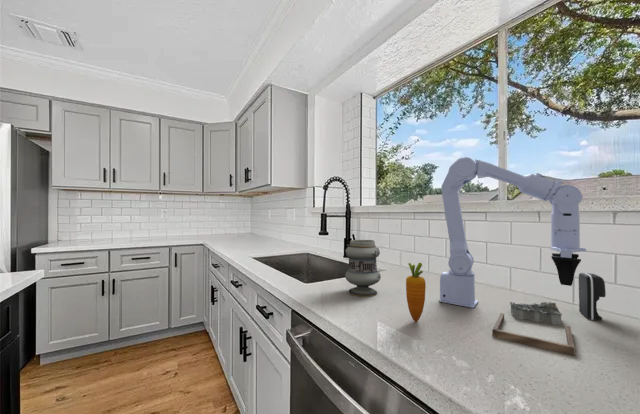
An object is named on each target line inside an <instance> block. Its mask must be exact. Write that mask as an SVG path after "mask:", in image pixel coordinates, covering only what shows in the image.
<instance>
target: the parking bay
mask: <svg viewBox="0 0 640 414" xmlns="http://www.w3.org/2000/svg"><path fill="white" fill-rule="evenodd" d="M504 322H505V313H502V312H501V313H500V314H499V315H498V317H497V320H496V322H495V324H494V325H493V327H492V329H491V331H492V332H491V333H492V334H491V336H492V337H494V338H498V339H502V340H506V341H510V342H511V341H512V342H515V343H519V344H523V345H527V346H531V347H536V348H541V349H545V350H549V351H554V352H556V353H557V352H558V353H561V354H567V355H570V356H573V357H574V356H576V355H575V344H574V338H573V334H572V329H571V326H570V325H565V335H566V343H567V344H565V343H560V342H555V341H553V340H552V341H551V340H546V339H543V338H542V339H541V338H538V337H533V336H529V335H524V334H520V333H515V332H511V331H506V330H502V329H501V328H502V327H503V324H504Z"/></svg>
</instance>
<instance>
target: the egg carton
mask: <svg viewBox="0 0 640 414" xmlns="http://www.w3.org/2000/svg"><path fill="white" fill-rule="evenodd" d="M509 304H510V313H511V316H512V317H514V318H517V319H518V320H525V319H526V320H532V321H534V322H538V323H540V322H546V323H549V324H551V325H557V324H559V325H560V324H562V316H563V314H562V313H561V311H560V310H559V308H558V306H557V304H556V302H546V301H545V302H540V304H538V303H533V304H532V303H531V304H530V303H516V302H512V301H510V302H509Z"/></svg>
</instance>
